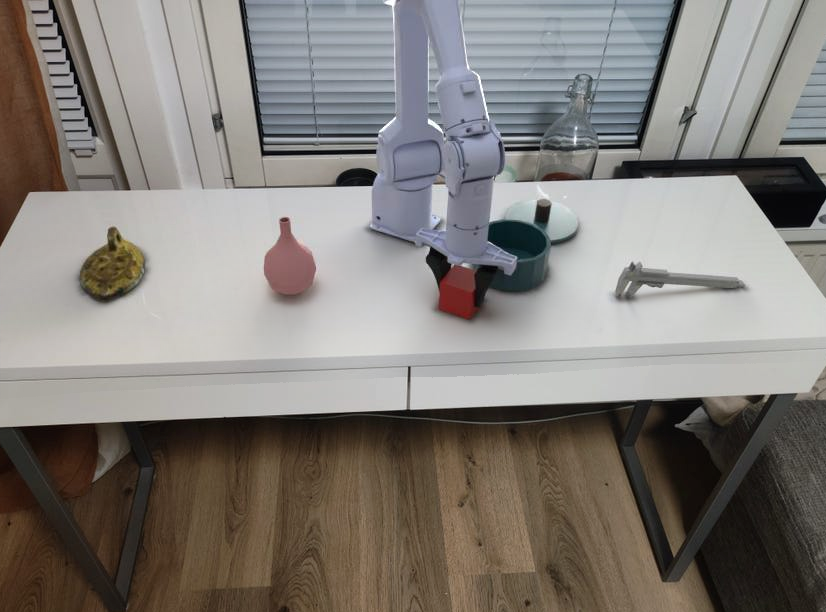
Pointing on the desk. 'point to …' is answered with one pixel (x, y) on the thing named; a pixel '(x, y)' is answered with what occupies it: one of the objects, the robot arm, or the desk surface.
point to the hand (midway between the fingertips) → (461, 297)
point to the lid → (546, 217)
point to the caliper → (668, 279)
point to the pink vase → (289, 263)
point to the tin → (519, 253)
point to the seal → (112, 268)
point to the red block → (458, 292)
